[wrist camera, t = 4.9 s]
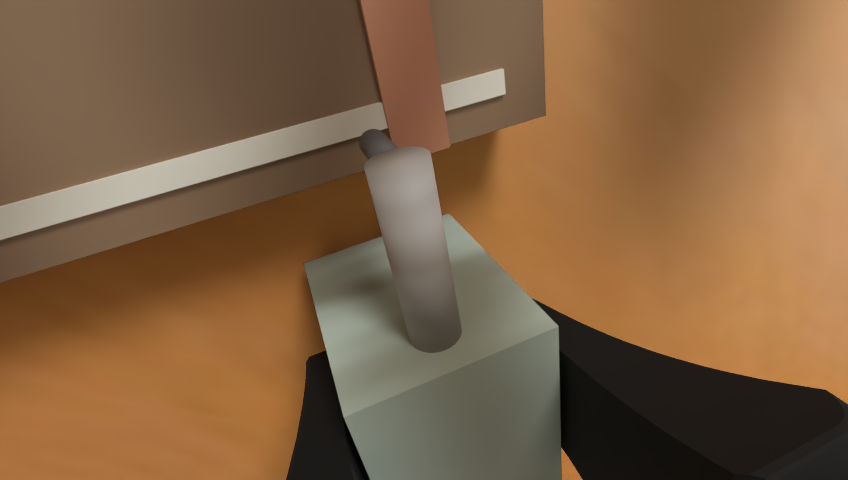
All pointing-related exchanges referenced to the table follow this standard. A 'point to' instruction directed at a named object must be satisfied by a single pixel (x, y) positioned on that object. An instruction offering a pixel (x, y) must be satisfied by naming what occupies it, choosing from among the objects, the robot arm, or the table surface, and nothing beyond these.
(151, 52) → the walnut plank
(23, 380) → the table surface
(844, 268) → the table surface
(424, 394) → the grey block with peg
